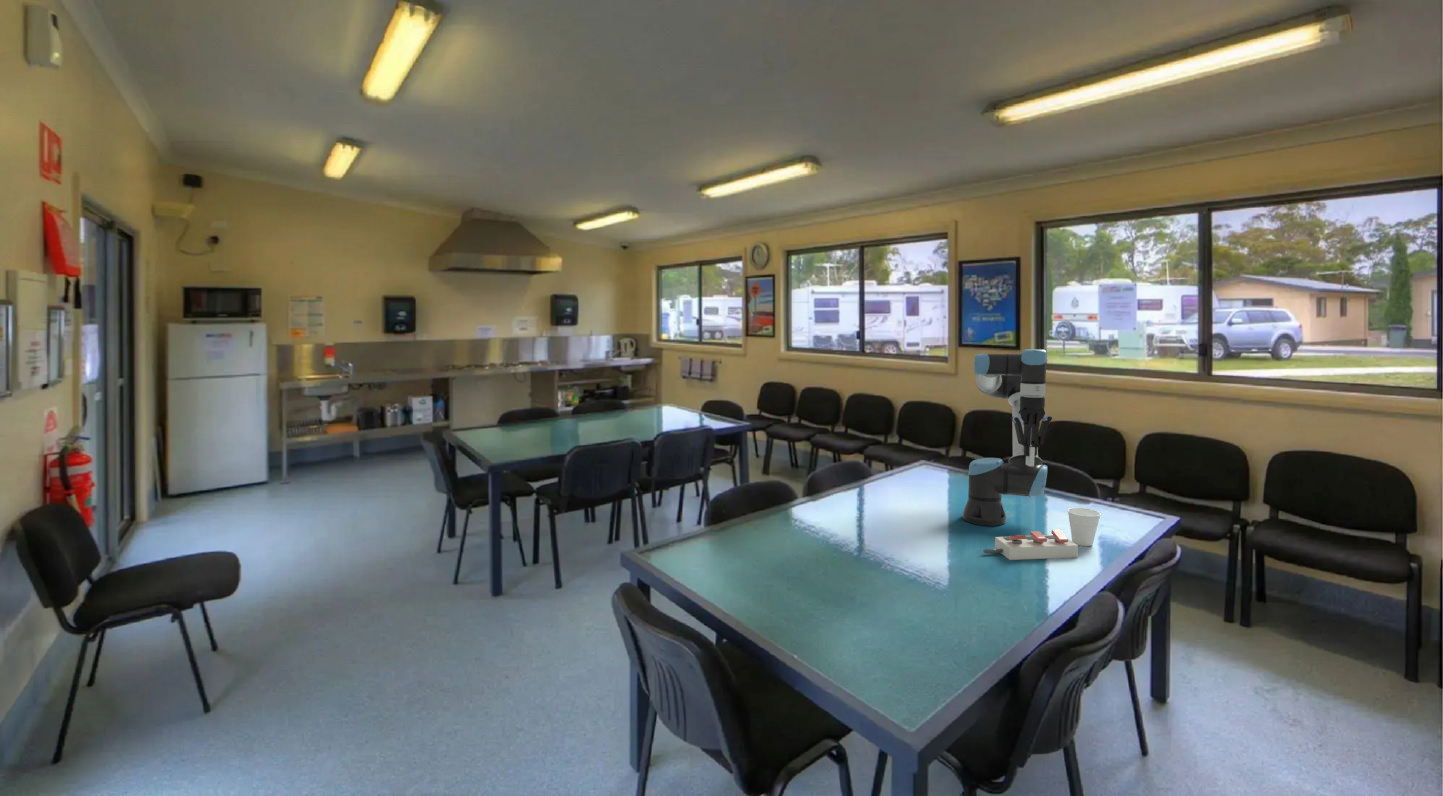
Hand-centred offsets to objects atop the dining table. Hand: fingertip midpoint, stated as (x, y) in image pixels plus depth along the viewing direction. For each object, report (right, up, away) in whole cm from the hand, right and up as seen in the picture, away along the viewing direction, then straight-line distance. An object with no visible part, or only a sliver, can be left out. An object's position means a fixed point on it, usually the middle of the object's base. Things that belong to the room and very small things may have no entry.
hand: (1029, 465), depth 217 cm
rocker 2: (-2, -22, -10) cm, 24 cm away
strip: (-5, -28, -8) cm, 29 cm away
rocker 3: (+5, -22, -10) cm, 24 cm away
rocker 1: (-9, -22, -10) cm, 26 cm away
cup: (+18, -26, 0) cm, 32 cm away
